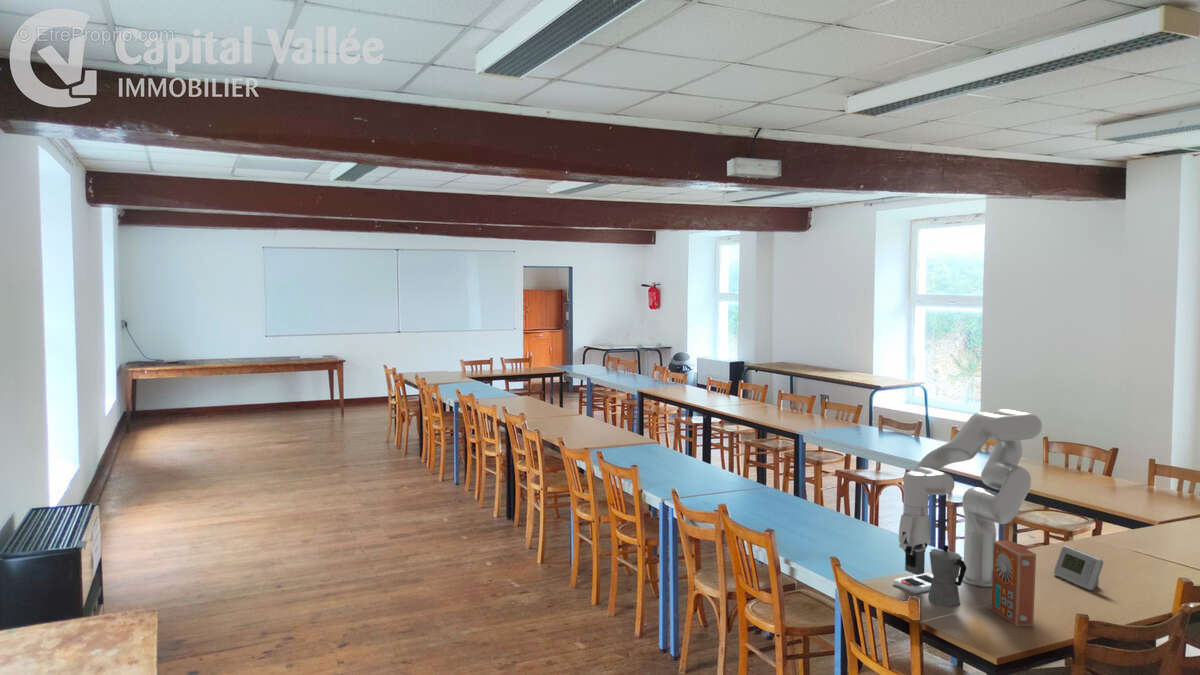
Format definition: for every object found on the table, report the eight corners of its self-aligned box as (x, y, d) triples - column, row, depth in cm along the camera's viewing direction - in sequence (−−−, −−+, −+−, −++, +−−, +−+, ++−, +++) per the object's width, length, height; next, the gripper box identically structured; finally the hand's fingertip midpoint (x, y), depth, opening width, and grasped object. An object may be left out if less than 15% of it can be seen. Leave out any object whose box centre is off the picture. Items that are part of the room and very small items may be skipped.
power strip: (926, 578, 261) (927, 570, 261) (949, 587, 253) (949, 579, 253) (893, 585, 254) (893, 578, 253) (915, 594, 246) (915, 587, 245)
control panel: (1016, 628, 221) (986, 607, 236) (1039, 627, 222) (1007, 607, 236) (1019, 555, 220) (988, 539, 235) (1042, 555, 221) (1010, 539, 235)
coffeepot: (917, 594, 246) (919, 539, 245) (942, 592, 248) (944, 537, 247) (950, 614, 231) (952, 555, 230) (976, 611, 233) (979, 553, 232)
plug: (912, 568, 254) (912, 543, 254) (924, 573, 250) (925, 547, 249) (904, 570, 253) (905, 545, 252) (917, 575, 248) (917, 549, 248)
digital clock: (1050, 574, 266) (1052, 544, 266) (1076, 574, 266) (1077, 544, 266) (1080, 592, 250) (1081, 560, 250) (1107, 592, 250) (1109, 560, 250)
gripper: (923, 503, 257) (923, 557, 258) (888, 510, 250) (887, 565, 251) (942, 509, 250) (941, 564, 251) (907, 516, 243) (906, 572, 244)
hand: (914, 564), depth 251 cm, fingers closed on plug, 3 cm apart
